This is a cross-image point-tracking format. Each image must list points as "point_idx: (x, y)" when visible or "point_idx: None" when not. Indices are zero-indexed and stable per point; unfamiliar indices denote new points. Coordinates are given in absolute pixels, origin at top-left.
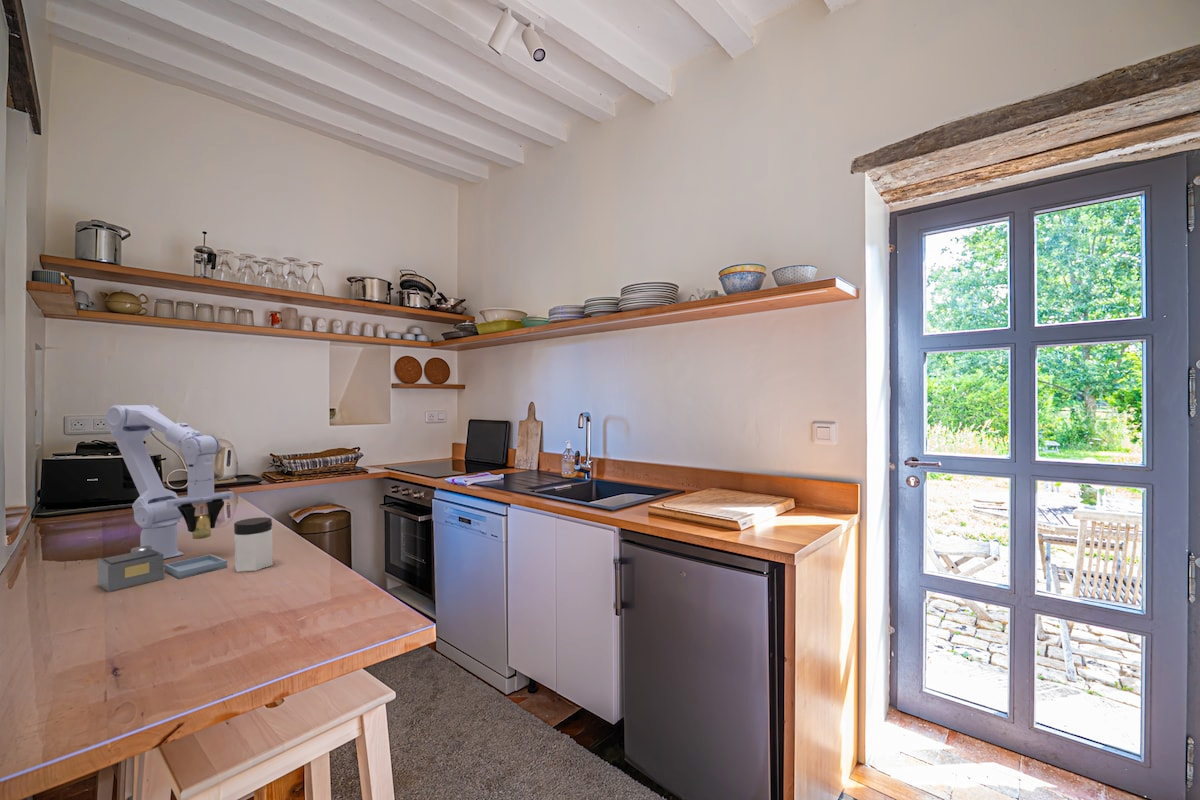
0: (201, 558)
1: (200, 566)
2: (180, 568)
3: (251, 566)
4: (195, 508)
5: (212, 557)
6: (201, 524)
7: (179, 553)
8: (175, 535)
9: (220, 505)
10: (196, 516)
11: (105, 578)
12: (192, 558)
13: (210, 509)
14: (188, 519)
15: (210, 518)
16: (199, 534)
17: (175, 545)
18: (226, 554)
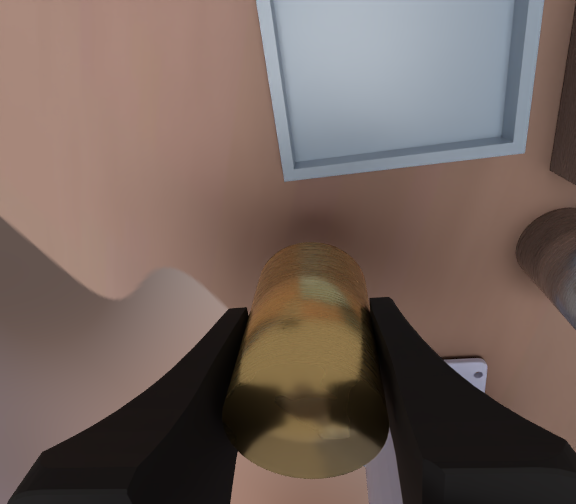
0: (335, 160)
1: None
2: (457, 83)
3: None
4: (421, 452)
5: (288, 122)
6: (325, 307)
7: None
8: (385, 462)
9: (82, 451)
10: (362, 402)
11: None
12: (379, 164)
13: (210, 480)
14: (449, 366)
15: (238, 360)
16: (338, 264)
17: None
18: (208, 236)
